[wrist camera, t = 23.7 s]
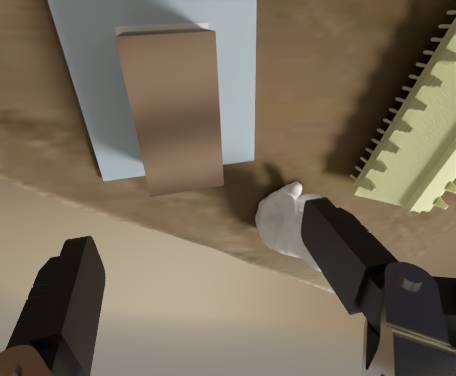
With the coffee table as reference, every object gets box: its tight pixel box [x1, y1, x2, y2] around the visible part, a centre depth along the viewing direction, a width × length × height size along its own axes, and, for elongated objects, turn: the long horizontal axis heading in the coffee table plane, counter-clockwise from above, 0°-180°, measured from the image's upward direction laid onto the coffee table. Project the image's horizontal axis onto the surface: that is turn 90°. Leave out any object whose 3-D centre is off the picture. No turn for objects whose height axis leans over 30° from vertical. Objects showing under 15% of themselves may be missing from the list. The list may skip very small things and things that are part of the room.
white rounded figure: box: [255, 182, 322, 272], centre depth 32 cm, size 6×8×12 cm
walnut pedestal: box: [115, 28, 224, 197], centre depth 24 cm, size 12×6×6 cm, turn 2°
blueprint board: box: [48, 0, 257, 181], centre depth 26 cm, size 19×16×1 cm
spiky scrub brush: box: [350, 10, 456, 213], centre depth 32 cm, size 25×14×7 cm, turn 160°
